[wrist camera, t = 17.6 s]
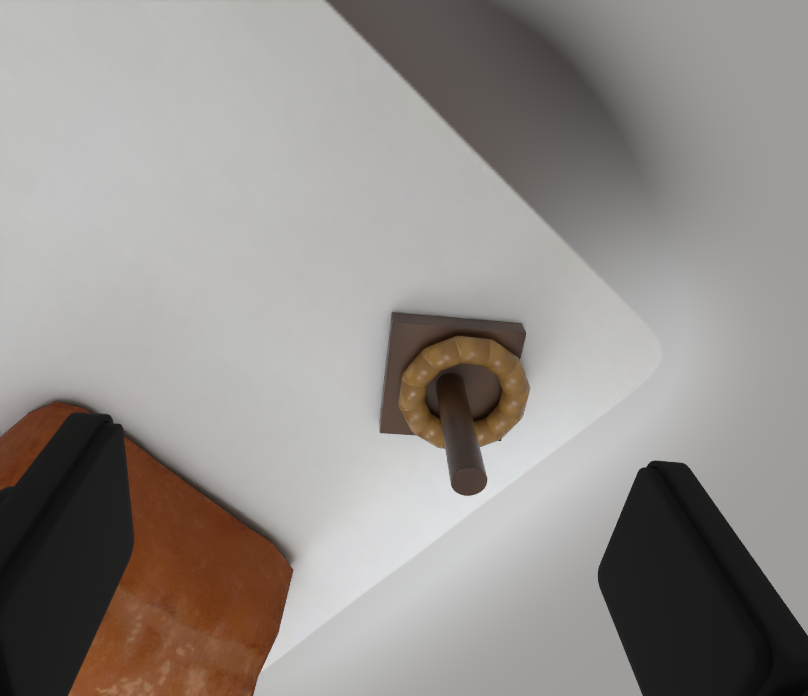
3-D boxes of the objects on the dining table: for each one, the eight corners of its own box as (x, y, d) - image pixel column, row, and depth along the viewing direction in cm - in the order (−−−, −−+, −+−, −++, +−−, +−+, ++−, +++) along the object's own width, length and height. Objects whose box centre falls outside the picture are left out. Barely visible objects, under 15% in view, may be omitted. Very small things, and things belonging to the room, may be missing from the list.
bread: (60, 378, 42) (-84, 538, 29) (308, 559, 51) (285, 742, 38) (-70, 504, 47) (-242, 689, 34) (179, 648, 56) (119, 837, 43)
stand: (521, 323, 41) (568, 420, 31) (497, 429, 46) (531, 545, 35) (391, 312, 41) (396, 408, 30) (379, 421, 45) (379, 537, 35)
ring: (537, 338, 40) (544, 351, 39) (510, 443, 44) (515, 459, 43) (407, 326, 39) (408, 338, 38) (392, 434, 44) (392, 449, 42)
